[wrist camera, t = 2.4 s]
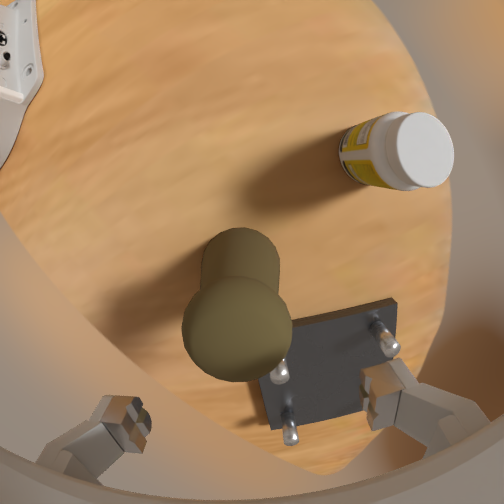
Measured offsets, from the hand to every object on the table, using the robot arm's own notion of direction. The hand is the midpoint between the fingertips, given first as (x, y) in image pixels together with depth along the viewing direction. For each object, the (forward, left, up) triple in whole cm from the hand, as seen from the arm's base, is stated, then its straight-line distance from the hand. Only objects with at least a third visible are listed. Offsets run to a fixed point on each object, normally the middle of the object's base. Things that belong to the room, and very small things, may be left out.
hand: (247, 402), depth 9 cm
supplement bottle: (-7, +11, -14) cm, 19 cm away
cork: (0, 0, -14) cm, 14 cm away
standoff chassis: (+12, +6, -14) cm, 19 cm away
